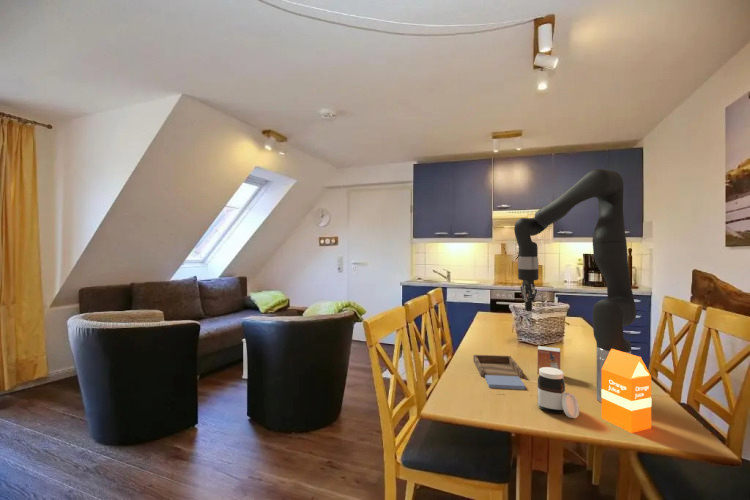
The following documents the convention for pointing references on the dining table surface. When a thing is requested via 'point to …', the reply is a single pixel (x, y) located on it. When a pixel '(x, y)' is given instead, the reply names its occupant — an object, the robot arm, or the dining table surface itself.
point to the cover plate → (504, 382)
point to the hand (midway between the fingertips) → (528, 310)
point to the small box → (548, 357)
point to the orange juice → (626, 391)
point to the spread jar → (555, 393)
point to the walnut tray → (497, 366)
